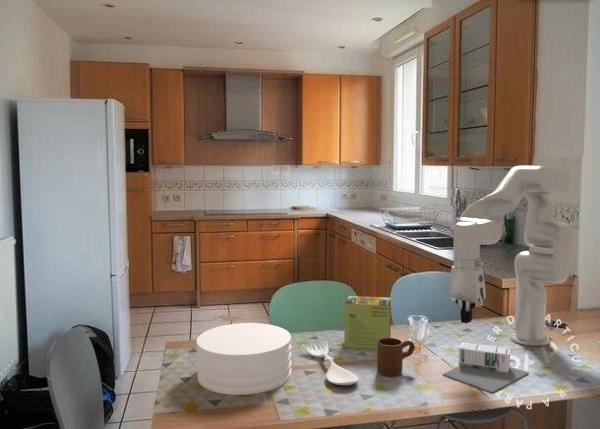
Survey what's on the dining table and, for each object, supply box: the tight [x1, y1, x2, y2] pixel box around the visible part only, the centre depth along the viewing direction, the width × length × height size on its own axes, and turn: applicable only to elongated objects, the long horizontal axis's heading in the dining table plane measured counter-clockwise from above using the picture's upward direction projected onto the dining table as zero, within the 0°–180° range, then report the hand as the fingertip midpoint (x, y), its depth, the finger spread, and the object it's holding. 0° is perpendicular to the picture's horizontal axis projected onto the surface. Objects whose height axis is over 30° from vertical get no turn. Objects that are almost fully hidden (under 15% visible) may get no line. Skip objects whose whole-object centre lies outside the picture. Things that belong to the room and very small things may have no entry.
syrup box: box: [458, 342, 511, 373], centre depth 160 cm, size 6×6×14 cm
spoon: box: [301, 340, 360, 386], centre depth 161 cm, size 9×32×4 cm, turn 16°
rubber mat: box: [442, 365, 529, 394], centre depth 155 cm, size 20×16×1 cm
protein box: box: [343, 295, 392, 350], centre depth 182 cm, size 10×15×16 cm
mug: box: [376, 337, 416, 377], centre depth 158 cm, size 12×8×9 cm, turn 106°
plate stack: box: [196, 322, 292, 396], centre depth 157 cm, size 28×28×12 cm
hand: (466, 321), depth 160 cm, fingers closed
